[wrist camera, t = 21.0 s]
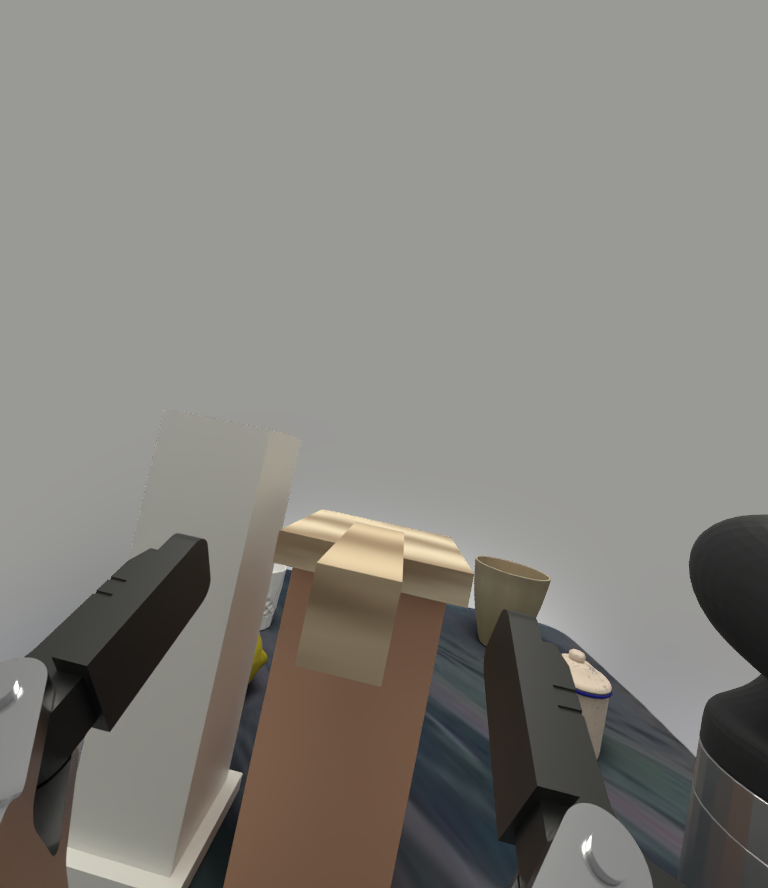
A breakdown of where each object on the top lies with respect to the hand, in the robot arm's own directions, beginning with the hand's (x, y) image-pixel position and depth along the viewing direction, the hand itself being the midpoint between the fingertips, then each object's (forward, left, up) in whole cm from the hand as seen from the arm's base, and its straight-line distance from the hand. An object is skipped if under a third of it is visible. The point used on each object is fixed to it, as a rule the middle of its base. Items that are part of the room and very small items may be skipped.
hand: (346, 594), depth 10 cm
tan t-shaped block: (-11, -8, -4) cm, 14 cm away
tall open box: (-16, -11, -28) cm, 34 cm away
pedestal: (-9, -22, -28) cm, 36 cm away
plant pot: (-73, -19, -28) cm, 80 cm away
